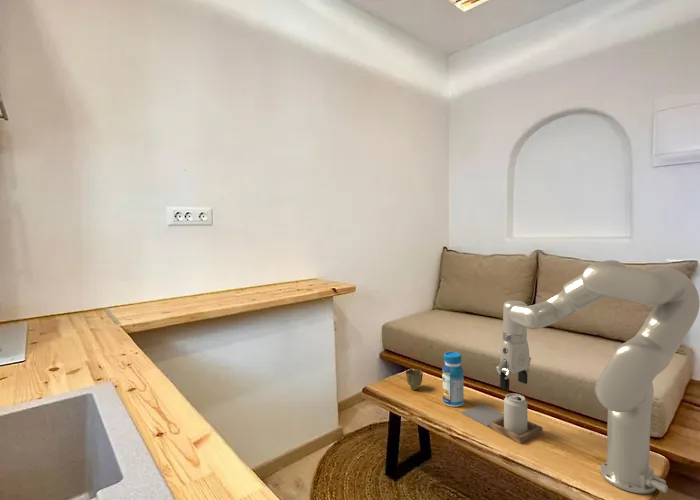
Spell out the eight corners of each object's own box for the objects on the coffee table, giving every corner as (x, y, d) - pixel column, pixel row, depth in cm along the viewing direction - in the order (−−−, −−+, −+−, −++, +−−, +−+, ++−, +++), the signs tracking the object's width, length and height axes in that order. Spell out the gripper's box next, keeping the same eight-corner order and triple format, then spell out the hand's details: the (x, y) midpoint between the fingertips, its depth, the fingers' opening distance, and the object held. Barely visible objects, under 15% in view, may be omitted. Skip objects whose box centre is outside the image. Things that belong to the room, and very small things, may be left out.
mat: (509, 417, 143) (509, 416, 143) (487, 426, 137) (487, 425, 137) (482, 404, 153) (482, 403, 153) (461, 413, 147) (461, 412, 147)
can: (529, 437, 129) (529, 402, 129) (506, 435, 131) (506, 400, 130) (524, 425, 137) (524, 392, 136) (502, 424, 138) (501, 391, 138)
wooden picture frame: (542, 432, 132) (542, 427, 132) (520, 443, 126) (520, 437, 126) (511, 418, 142) (511, 413, 142) (489, 427, 136) (489, 422, 136)
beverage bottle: (460, 409, 150) (460, 358, 149) (439, 404, 155) (438, 355, 153) (466, 400, 157) (466, 352, 156) (446, 396, 162) (445, 349, 161)
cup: (403, 386, 173) (403, 368, 173) (419, 384, 174) (419, 367, 174) (409, 393, 166) (409, 375, 165) (425, 391, 167) (425, 373, 167)
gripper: (507, 344, 124) (507, 396, 126) (540, 335, 133) (539, 383, 135) (488, 338, 131) (488, 387, 132) (520, 330, 140) (519, 376, 141)
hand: (513, 385), depth 133 cm, fingers open, 9 cm apart
